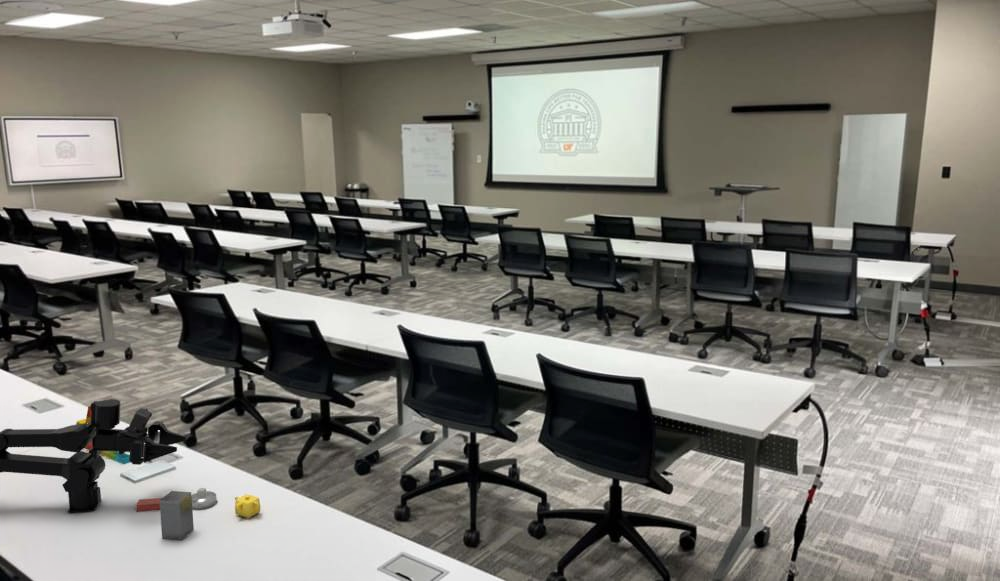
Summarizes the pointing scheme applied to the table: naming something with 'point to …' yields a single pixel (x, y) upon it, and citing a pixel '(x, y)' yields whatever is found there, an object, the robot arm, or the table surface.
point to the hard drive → (148, 471)
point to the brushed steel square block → (176, 515)
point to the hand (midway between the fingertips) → (181, 443)
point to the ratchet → (199, 501)
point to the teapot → (247, 506)
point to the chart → (109, 454)
